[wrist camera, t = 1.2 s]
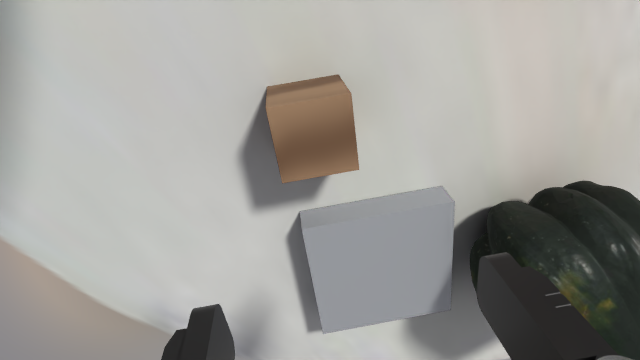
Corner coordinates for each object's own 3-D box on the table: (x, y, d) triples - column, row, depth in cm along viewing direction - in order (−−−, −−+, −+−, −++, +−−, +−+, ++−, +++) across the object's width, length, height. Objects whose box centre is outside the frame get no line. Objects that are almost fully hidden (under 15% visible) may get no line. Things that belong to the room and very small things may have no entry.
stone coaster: (299, 211, 31) (301, 229, 29) (442, 185, 31) (454, 201, 29) (320, 312, 37) (323, 334, 34) (440, 290, 37) (450, 309, 35)
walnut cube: (266, 86, 26) (265, 108, 22) (338, 74, 26) (351, 93, 22) (280, 151, 28) (282, 183, 24) (346, 140, 28) (359, 169, 24)
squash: (554, 142, 24) (610, 413, 19) (722, 172, 27) (810, 408, 22) (435, 203, 37) (448, 374, 32) (560, 218, 40) (590, 375, 35)
